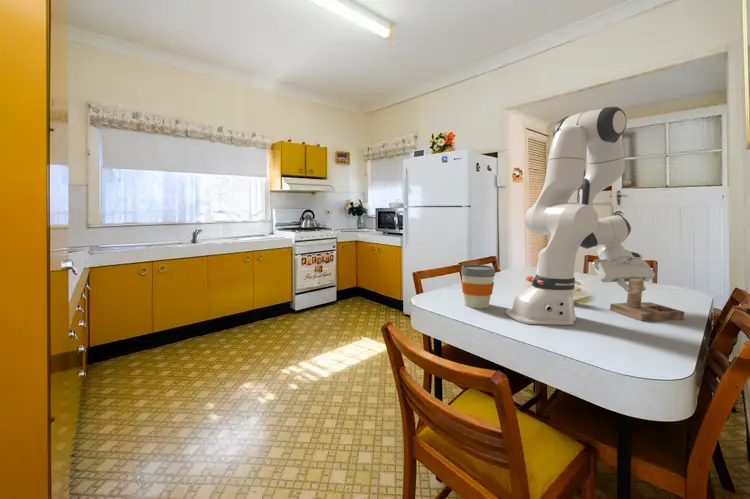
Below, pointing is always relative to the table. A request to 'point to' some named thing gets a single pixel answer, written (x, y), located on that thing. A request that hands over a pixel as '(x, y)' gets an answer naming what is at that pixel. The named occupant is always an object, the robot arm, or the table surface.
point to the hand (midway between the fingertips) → (636, 290)
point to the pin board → (647, 311)
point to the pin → (635, 292)
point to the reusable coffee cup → (477, 285)
